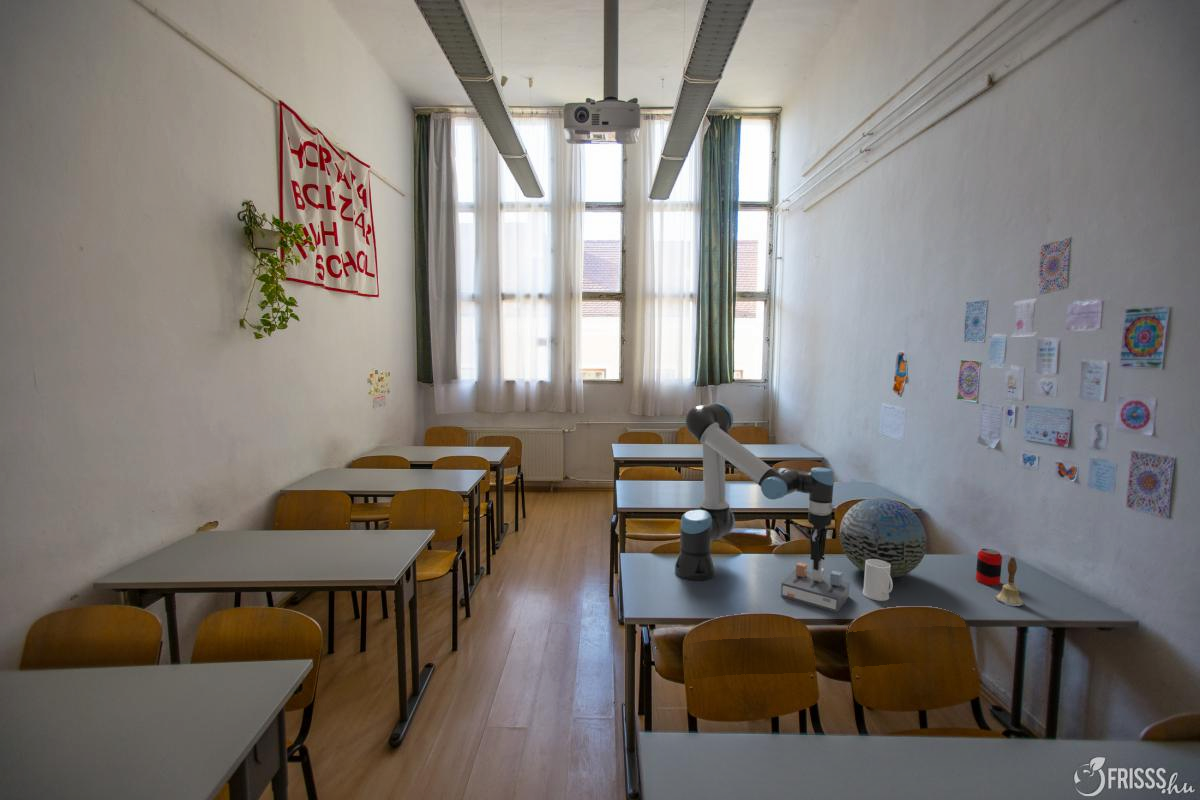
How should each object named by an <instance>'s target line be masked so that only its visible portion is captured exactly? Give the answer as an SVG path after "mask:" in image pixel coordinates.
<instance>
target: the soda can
mask: <svg viewBox="0 0 1200 800" xmlns="http://www.w3.org/2000/svg"><path fill="white" fill-rule="evenodd" d="M976 558H977V560H976V570H975V571H976V572H975V580H976V581H977V582H978V583H980V582H981V583H980V584H982V583H983V585H985V584H987V585H986V586H990V585H997V586H999V585H1000V584H1001V575H1002V574H1001V573H1002V565H1003V564H1002V563H1003V556H1002V555H1001V553H1000V551H997V550H995V549H992V548H981V549H980V550H979V551H978V552H977V557H976Z"/></svg>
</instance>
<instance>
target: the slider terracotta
mask: <svg viewBox="0 0 1200 800" xmlns="http://www.w3.org/2000/svg"><path fill="white" fill-rule="evenodd" d="M795 569H796V575H797V576H801V577H805V576H806V575H807V572H808V563H804V562H800V561H798V562H797V563H796V565H795Z"/></svg>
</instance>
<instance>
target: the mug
mask: <svg viewBox="0 0 1200 800" xmlns="http://www.w3.org/2000/svg"><path fill="white" fill-rule="evenodd" d="M890 569H891V565H890V564H889V563H888V562H886V561H883V560H878V559H868V560H866V561H865V572H864V578H863V590H862V595H864V596H865V597H866V598H868V599H870V600H874V601H879V602H882V601H883V602H885V601H888V600H889V599H890V593H891V592H892V591H893V587H894V586H893V585H894V583H893V578H891V576H890Z"/></svg>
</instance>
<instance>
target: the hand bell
mask: <svg viewBox="0 0 1200 800" xmlns="http://www.w3.org/2000/svg"><path fill="white" fill-rule="evenodd" d="M1017 568H1018V565H1017V561H1016V558H1015V557H1012V556H1010V558H1009V560H1008V563H1007V572H1008V579H1007V583H1006V584H1003V585H1002V589H1001V590H1000V592H999V593H998V594H997V595H996V596H995V597H997V598H998V599H999V600H1001V601H1004V602H1007V603H1011V604H1023V603H1024V601H1023V600H1022V598H1021V597H1020V593H1019V588H1018V587H1017V586H1016V585H1015V574H1016V572H1017Z"/></svg>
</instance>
